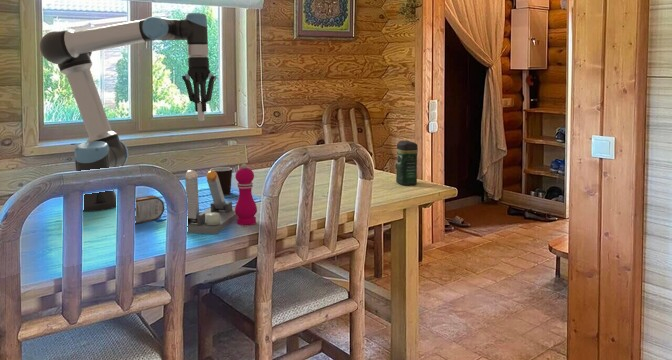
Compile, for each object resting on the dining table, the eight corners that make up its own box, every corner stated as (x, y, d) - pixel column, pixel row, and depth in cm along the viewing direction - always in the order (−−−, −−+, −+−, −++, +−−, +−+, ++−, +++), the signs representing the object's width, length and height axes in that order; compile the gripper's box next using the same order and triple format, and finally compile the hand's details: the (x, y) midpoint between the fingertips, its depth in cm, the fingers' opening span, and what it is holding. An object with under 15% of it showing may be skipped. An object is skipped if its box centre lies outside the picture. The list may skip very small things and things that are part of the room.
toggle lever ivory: (186, 224, 191) (183, 170, 188) (190, 221, 195) (187, 168, 191) (196, 224, 191) (193, 171, 187) (201, 221, 194) (198, 169, 191)
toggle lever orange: (215, 213, 207) (203, 175, 196) (218, 206, 210) (207, 168, 199) (225, 213, 207) (214, 175, 196) (228, 206, 209) (217, 168, 198)
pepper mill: (238, 219, 204) (236, 161, 200) (259, 220, 204) (257, 161, 200) (232, 225, 197) (230, 165, 193) (254, 226, 197) (252, 165, 193)
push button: (203, 225, 190) (203, 215, 189) (209, 221, 194) (208, 212, 193) (217, 225, 189) (216, 216, 188) (222, 222, 193) (221, 212, 193)
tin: (161, 216, 209) (160, 193, 207) (166, 218, 207) (164, 194, 205) (119, 225, 199) (117, 200, 197) (123, 227, 197) (122, 201, 195)
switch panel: (180, 232, 190) (179, 216, 189) (211, 211, 215) (211, 197, 214) (216, 234, 188) (216, 218, 187) (244, 213, 213) (243, 199, 212)
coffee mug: (228, 196, 239) (227, 171, 237) (208, 195, 241) (206, 170, 239) (239, 190, 250) (238, 166, 248) (219, 189, 252) (218, 165, 250)
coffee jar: (419, 185, 257) (420, 141, 254) (402, 186, 255) (403, 142, 252) (410, 180, 267) (411, 139, 263) (393, 182, 264) (394, 139, 261)
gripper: (218, 56, 226) (221, 119, 231) (185, 56, 228) (189, 119, 233) (211, 56, 219) (214, 121, 224) (177, 56, 221) (180, 121, 226)
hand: (201, 120), depth 228 cm, fingers closed
